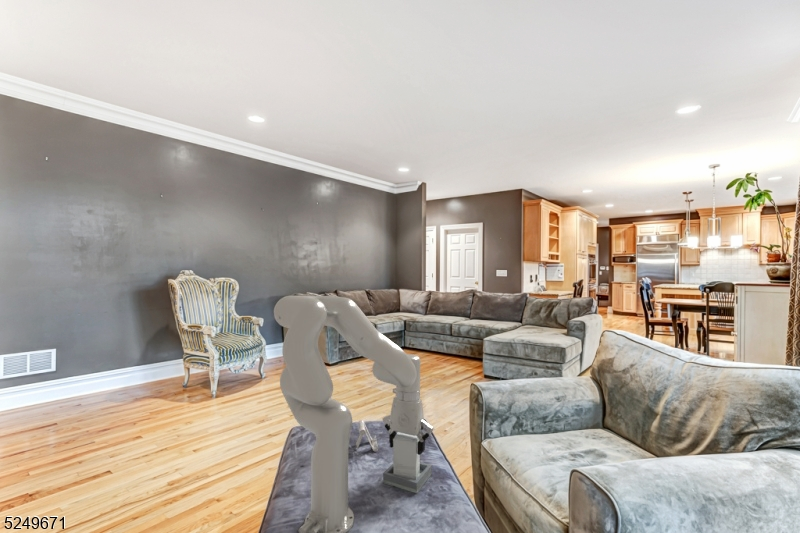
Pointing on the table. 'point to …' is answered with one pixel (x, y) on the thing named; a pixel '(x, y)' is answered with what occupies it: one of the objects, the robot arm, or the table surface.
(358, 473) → the table surface
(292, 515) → the table surface
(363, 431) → the portable electronic device stand
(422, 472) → the tray
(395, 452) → the supplement box
